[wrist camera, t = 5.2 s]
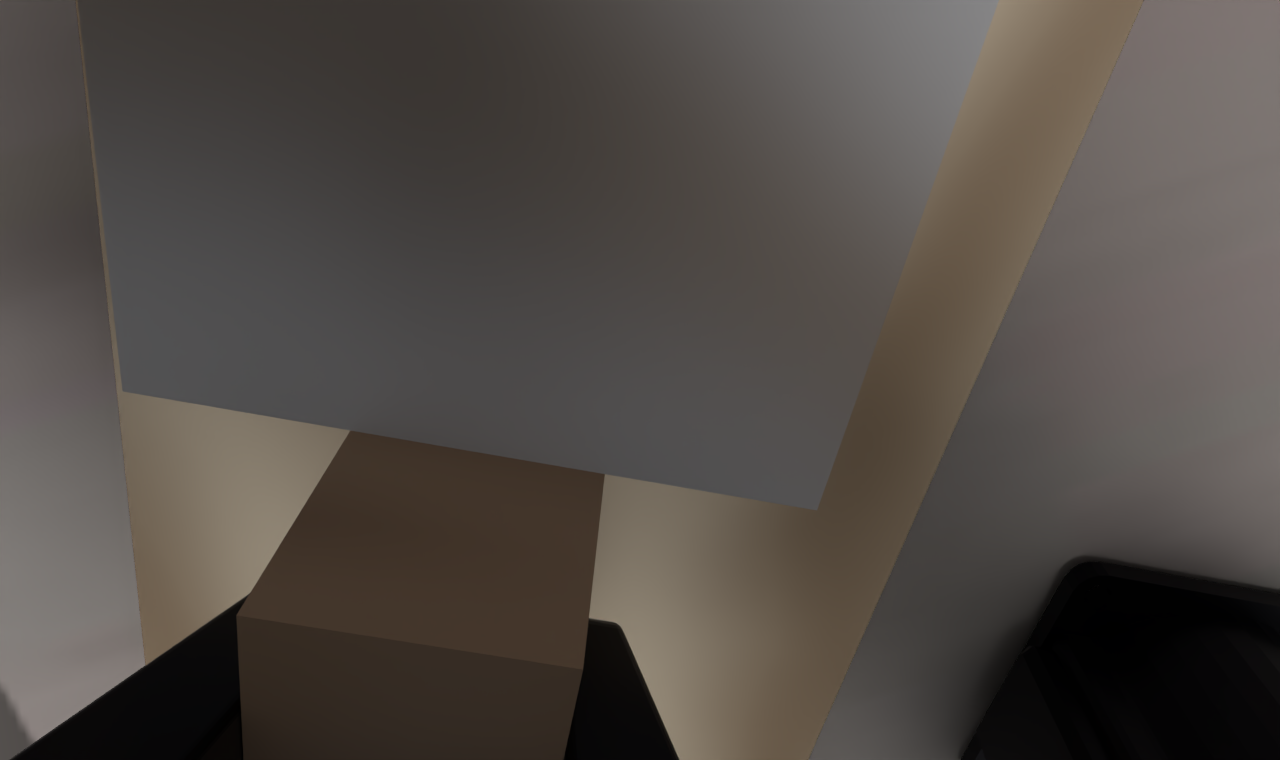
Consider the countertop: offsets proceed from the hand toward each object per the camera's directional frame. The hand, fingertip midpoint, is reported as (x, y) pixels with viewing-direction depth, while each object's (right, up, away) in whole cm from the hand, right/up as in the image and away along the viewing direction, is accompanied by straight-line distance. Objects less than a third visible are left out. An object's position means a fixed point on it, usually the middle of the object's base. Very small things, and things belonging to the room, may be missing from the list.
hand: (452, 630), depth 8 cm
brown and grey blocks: (0, +2, 0) cm, 2 cm away
